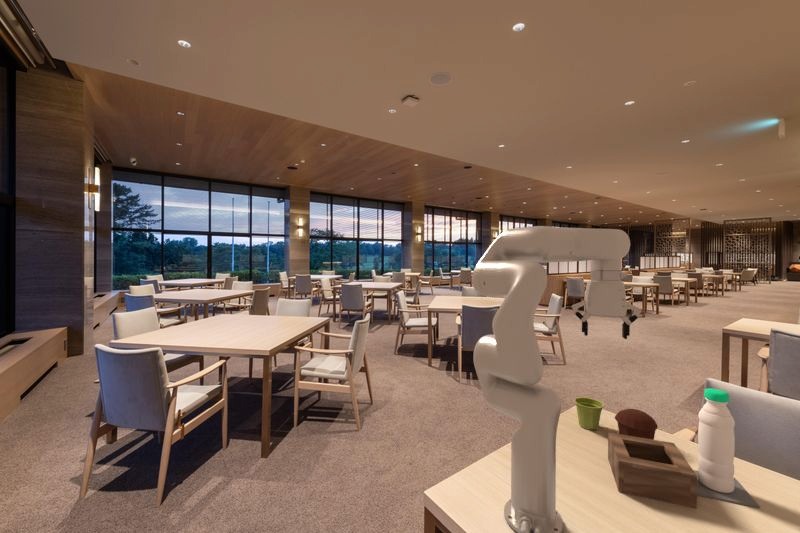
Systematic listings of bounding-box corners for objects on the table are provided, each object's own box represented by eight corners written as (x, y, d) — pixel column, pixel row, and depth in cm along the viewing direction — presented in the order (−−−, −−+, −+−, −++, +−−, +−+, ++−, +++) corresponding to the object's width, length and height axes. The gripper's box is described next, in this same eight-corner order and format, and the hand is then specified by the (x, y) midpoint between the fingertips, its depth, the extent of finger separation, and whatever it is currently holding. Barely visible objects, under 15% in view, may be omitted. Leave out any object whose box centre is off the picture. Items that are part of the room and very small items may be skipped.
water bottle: (718, 477, 93) (719, 386, 93) (742, 495, 86) (743, 396, 86) (690, 476, 94) (691, 385, 93) (711, 493, 87) (712, 395, 86)
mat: (760, 508, 82) (760, 506, 82) (697, 495, 87) (697, 493, 87) (734, 479, 93) (734, 477, 93) (679, 468, 98) (679, 467, 98)
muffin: (653, 437, 116) (653, 407, 115) (662, 454, 105) (662, 421, 105) (612, 430, 120) (612, 402, 120) (617, 445, 110) (617, 414, 110)
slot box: (696, 508, 82) (697, 475, 82) (618, 491, 88) (618, 460, 88) (673, 471, 97) (673, 443, 97) (608, 458, 103) (608, 432, 103)
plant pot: (580, 417, 130) (580, 395, 130) (607, 426, 123) (608, 402, 123) (569, 425, 124) (569, 401, 124) (597, 435, 117) (597, 410, 117)
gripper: (638, 277, 98) (637, 337, 98) (571, 276, 106) (570, 331, 106) (644, 278, 92) (644, 342, 92) (572, 276, 99) (571, 336, 99)
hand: (604, 336), depth 99 cm, fingers open, 9 cm apart
